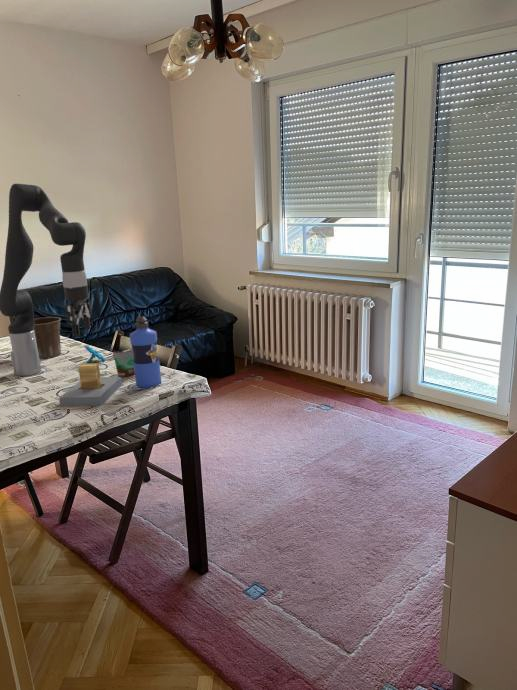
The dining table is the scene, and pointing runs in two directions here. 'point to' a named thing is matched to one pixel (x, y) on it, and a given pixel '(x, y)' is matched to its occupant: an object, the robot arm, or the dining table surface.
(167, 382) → the dining table surface
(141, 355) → the water bottle
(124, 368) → the food container
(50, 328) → the plant pot
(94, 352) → the gear
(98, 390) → the keyed plate
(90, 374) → the keyed peg
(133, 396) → the dining table surface
